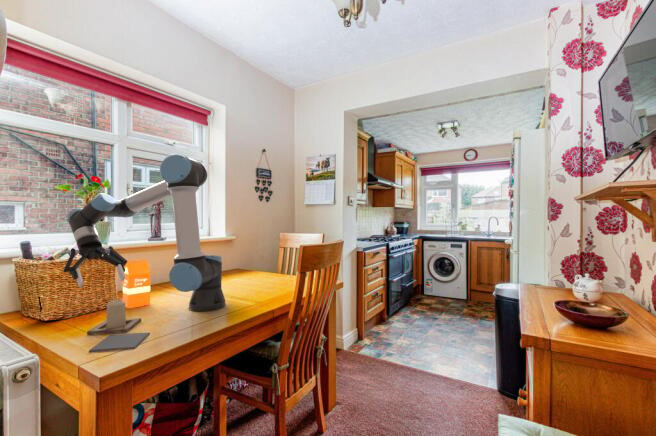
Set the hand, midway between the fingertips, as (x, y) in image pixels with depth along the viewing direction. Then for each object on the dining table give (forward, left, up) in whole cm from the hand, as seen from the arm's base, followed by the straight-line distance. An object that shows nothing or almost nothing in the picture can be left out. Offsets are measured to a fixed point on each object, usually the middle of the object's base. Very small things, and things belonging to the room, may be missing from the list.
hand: (103, 281), depth 114 cm
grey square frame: (-8, +7, -15) cm, 18 cm away
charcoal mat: (-16, +22, -15) cm, 31 cm away
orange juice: (-3, -24, -15) cm, 28 cm away
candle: (-8, +7, -15) cm, 19 cm away
